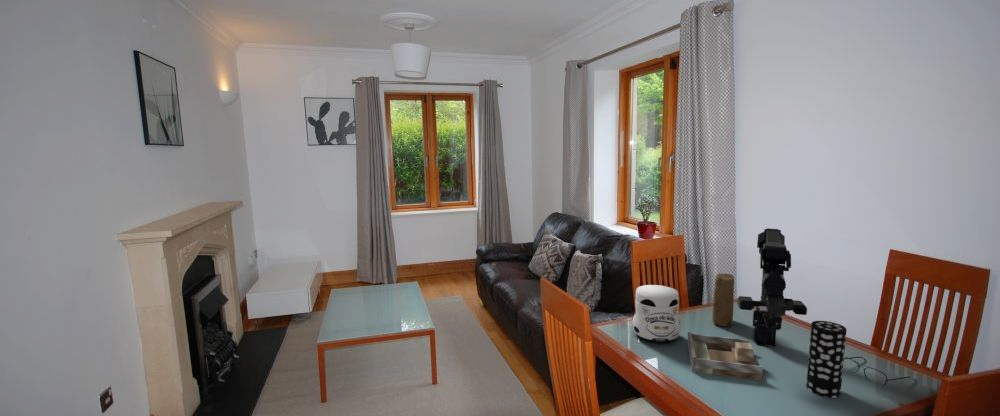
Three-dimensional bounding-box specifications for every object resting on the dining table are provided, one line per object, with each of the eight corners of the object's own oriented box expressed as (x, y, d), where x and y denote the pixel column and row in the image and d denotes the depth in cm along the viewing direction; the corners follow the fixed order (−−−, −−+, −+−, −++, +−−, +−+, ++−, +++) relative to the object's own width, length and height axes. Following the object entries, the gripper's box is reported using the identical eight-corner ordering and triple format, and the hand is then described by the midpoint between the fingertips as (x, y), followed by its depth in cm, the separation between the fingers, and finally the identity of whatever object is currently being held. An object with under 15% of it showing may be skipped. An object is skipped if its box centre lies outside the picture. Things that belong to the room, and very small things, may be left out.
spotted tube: (799, 383, 139) (804, 321, 136) (825, 381, 139) (830, 320, 136) (820, 398, 130) (826, 333, 128) (847, 396, 131) (854, 331, 128)
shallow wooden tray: (748, 351, 160) (749, 338, 159) (761, 380, 141) (762, 365, 140) (687, 345, 166) (688, 332, 165) (692, 371, 147) (692, 357, 146)
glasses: (835, 368, 148) (838, 354, 148) (864, 365, 153) (867, 350, 153) (885, 390, 135) (888, 374, 134) (915, 386, 140) (918, 370, 140)
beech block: (749, 356, 152) (750, 343, 152) (752, 362, 148) (753, 349, 148) (734, 354, 154) (735, 341, 153) (736, 360, 150) (737, 347, 149)
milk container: (658, 350, 162) (659, 302, 160) (622, 333, 177) (623, 289, 174) (689, 338, 171) (691, 293, 168) (653, 323, 186) (654, 281, 183)
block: (732, 328, 179) (735, 280, 176) (711, 325, 183) (713, 277, 180) (732, 319, 189) (735, 272, 186) (712, 316, 192) (715, 270, 189)
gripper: (744, 289, 140) (741, 337, 143) (814, 294, 135) (810, 344, 137) (738, 279, 151) (735, 323, 153) (803, 283, 145) (799, 329, 147)
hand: (769, 330), depth 147 cm, fingers closed
